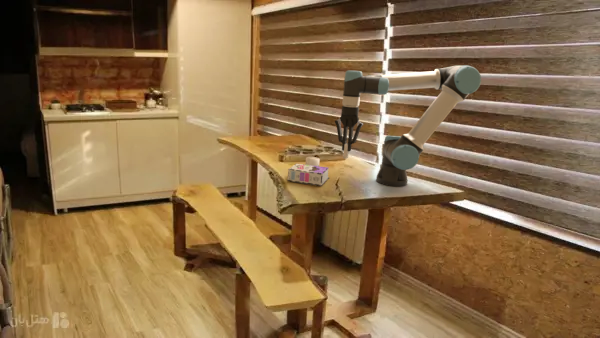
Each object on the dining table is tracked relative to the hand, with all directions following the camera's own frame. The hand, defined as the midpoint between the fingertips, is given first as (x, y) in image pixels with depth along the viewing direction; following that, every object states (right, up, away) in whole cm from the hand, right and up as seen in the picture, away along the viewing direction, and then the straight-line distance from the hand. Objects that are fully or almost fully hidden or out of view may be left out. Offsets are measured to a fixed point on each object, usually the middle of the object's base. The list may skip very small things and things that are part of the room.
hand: (345, 157), depth 211 cm
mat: (-15, -10, +10) cm, 21 cm away
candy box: (-9, -9, +5) cm, 13 cm away
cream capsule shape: (-15, -6, +26) cm, 31 cm away
